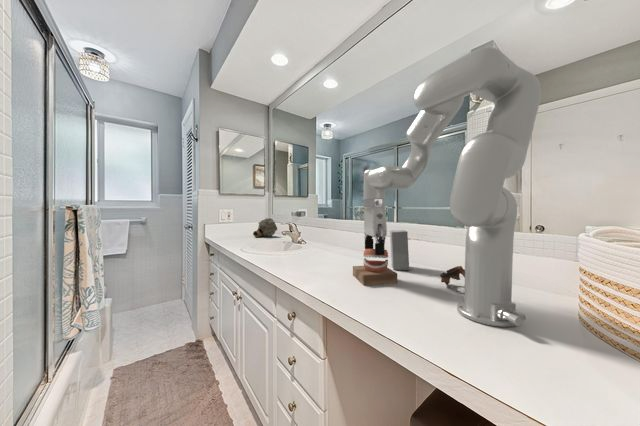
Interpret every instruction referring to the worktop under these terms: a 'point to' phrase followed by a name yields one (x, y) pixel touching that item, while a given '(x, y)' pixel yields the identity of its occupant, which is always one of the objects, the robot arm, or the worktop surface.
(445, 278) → the dark brown jagged part
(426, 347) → the worktop surface
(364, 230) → the robot arm
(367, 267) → the dentures
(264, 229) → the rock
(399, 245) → the skincare box
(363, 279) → the walnut base
